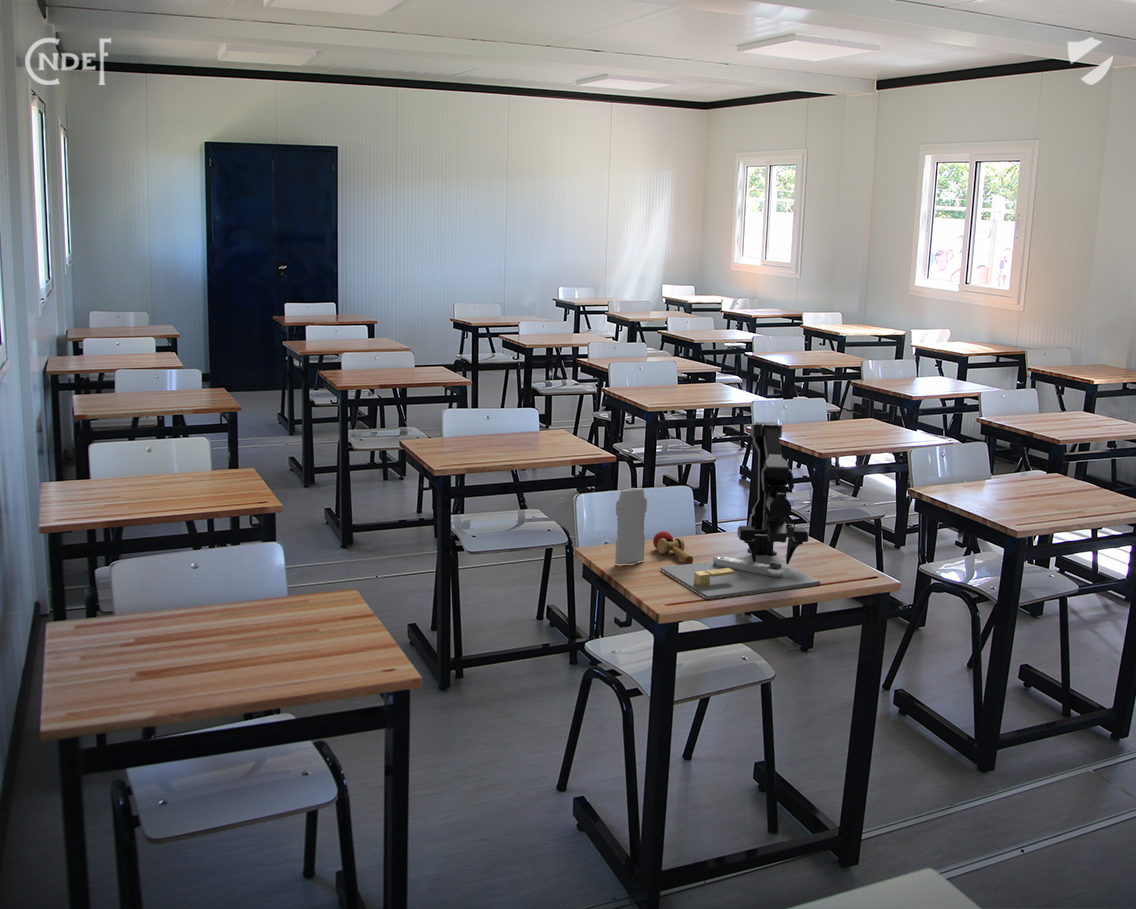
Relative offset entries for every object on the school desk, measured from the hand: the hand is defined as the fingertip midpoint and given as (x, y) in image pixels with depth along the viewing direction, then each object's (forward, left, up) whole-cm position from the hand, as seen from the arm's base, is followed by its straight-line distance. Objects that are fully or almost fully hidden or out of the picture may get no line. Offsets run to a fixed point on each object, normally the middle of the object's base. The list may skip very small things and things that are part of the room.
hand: (770, 563), depth 265 cm
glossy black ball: (+7, -4, +1) cm, 8 cm away
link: (+1, -8, -1) cm, 8 cm away
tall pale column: (-19, -35, -2) cm, 39 cm away
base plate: (+3, -12, -2) cm, 12 cm away
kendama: (-21, -19, -2) cm, 28 cm away
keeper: (+7, -23, -1) cm, 24 cm away
